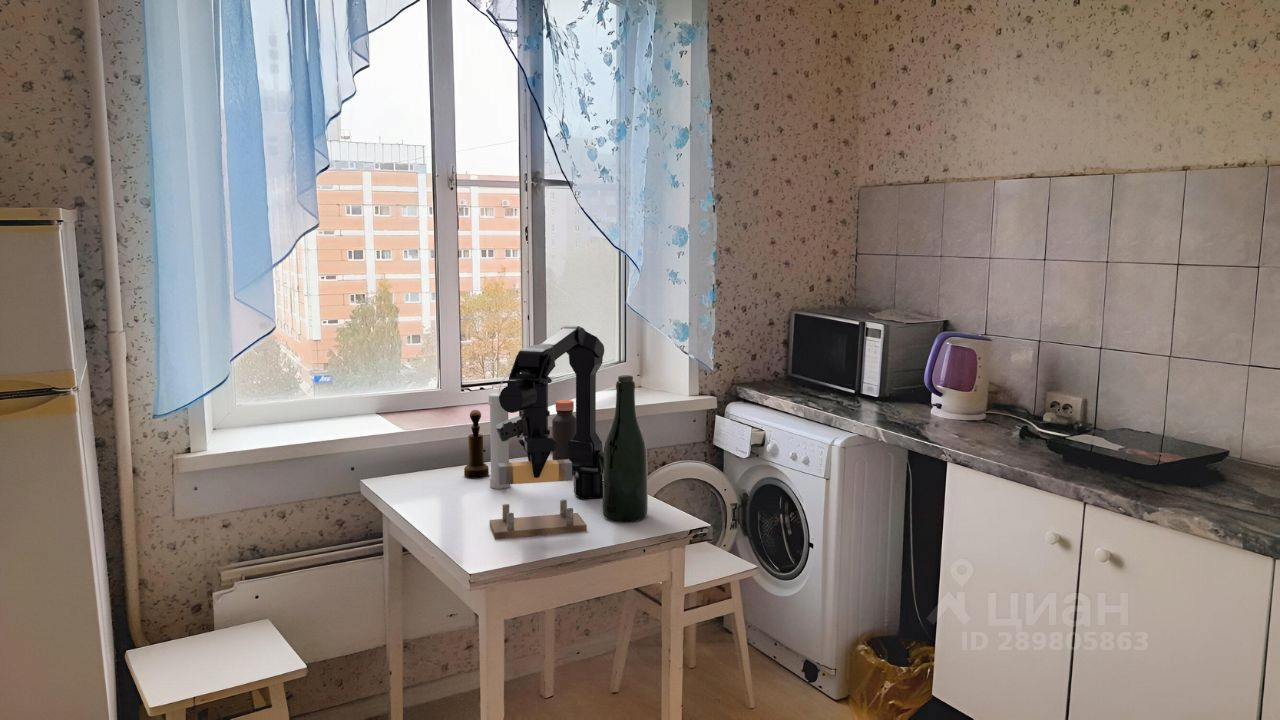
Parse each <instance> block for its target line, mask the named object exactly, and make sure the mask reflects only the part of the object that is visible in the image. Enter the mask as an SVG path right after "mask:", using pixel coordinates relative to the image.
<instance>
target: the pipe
mask: <svg viewBox="0 0 1280 720" xmlns="http://www.w3.org/2000/svg"><path fill="white" fill-rule="evenodd" d="M509 376H510V373H508V374H507V375H506V376H505V377H504V378H503V380H501V382H500V385H499V387H498V392H493V393H489V394H488V402H487V403H488V406H489V423H490V424H489V429H490V430H489V435H490V476H489V478H488V479H489V486H490V488H491V489H496V490H502V489H503V490H504V489H508V488H510V487H511V484H508V485H499V483H498V481H497V463H509V462H510V449H509V448H510V442H509V439H510V438H509V439H508V440H507V441H504V442H502V441H501V439H500V437H499V435H498V432H497V430H496V427H495V425H497V424H499V423H501V422H504V421H506V420H509V412H507V411H505V410H504V409H503V408H502V407H501V405H500V402H499V395H500V393H501V391H500V390H501V387H502V384H503V382H504V380H505V379H506V378H507V377H509Z"/></svg>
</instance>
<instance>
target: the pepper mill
mask: <svg viewBox="0 0 1280 720" xmlns="http://www.w3.org/2000/svg"><path fill="white" fill-rule="evenodd" d="M469 418H470V420H471V422H472V426H470V427H471V432H472V433H471V434H469V435H468V437H467V438H468V464H466V465H465V467H464V468H463V469H464V470H463V471H464V478H467V477H468V478H467V479H481V477H482V478H485V477H487V476H489V473H490V471H489V465H488V464H486V463H485V461H484V460H485V459H484V434H482V433H480V428H481V426H480V425H479V422H480V420H481V418H482V413H481V411H480V410H478V409H473V410H471V411H470V413H469Z"/></svg>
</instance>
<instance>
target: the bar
mask: <svg viewBox="0 0 1280 720" xmlns="http://www.w3.org/2000/svg"><path fill="white" fill-rule="evenodd" d="M497 481H498V483H499V485H508V484H510V485H521V484H535V483H536V484H540V483H553V482H554V483H555V482H556V483H557V482H572V481H573V475H572V462H571V461H570V460H569V459H565V460H552V459H547V461H546V463H545V465H544V467H543V470H542V472H541V474H540V477H539V478H534V475H533V469H532V464H531V461H514V462H513V461H512V462H510V461H509V463H497Z"/></svg>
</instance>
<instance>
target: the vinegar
mask: <svg viewBox="0 0 1280 720" xmlns="http://www.w3.org/2000/svg"><path fill="white" fill-rule="evenodd" d="M574 405H575V404H574V401H573V400H570V399H561V400H559V399H558V400H556V401H555V412H556V415H555V416H554V417H553V418H552V421H551V424H552V425H551V431H552V435H551V437H552V438H553V439H554V440H555V441H556V451H551V453H552V454H551V457H552V459H551V460H565V459H568V442H569V441H570V440H572V438H573V437H574V435H575V433H576V416H575V415H574V414H573V412H574V410H575V409H574ZM573 475H576V472H572V476H573Z"/></svg>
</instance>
